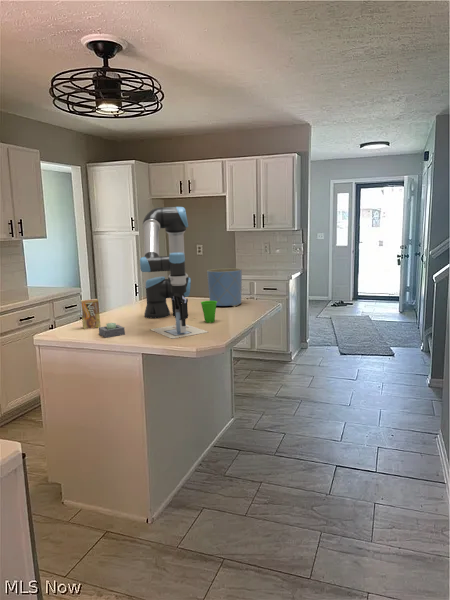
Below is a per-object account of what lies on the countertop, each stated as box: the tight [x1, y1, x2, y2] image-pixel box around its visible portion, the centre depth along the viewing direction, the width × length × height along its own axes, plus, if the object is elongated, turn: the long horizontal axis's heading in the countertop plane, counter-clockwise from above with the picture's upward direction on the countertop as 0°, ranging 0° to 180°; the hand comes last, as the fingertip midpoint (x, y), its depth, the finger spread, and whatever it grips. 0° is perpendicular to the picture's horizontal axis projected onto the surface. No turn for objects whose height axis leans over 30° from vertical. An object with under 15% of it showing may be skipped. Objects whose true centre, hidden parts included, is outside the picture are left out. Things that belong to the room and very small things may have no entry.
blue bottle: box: [175, 309, 185, 334], centre depth 225 cm, size 4×4×12 cm
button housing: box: [98, 324, 126, 338], centre depth 231 cm, size 10×10×4 cm
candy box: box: [80, 298, 101, 330], centre depth 249 cm, size 9×4×15 cm, turn 116°
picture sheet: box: [149, 324, 209, 340], centre depth 233 cm, size 26×20×1 cm
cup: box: [200, 300, 217, 324], centre depth 252 cm, size 9×9×11 cm
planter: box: [206, 267, 243, 308], centre depth 303 cm, size 23×23×24 cm
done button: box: [105, 322, 117, 329], centre depth 231 cm, size 5×5×4 cm
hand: (181, 331), depth 226 cm, fingers closed on blue bottle, 4 cm apart
